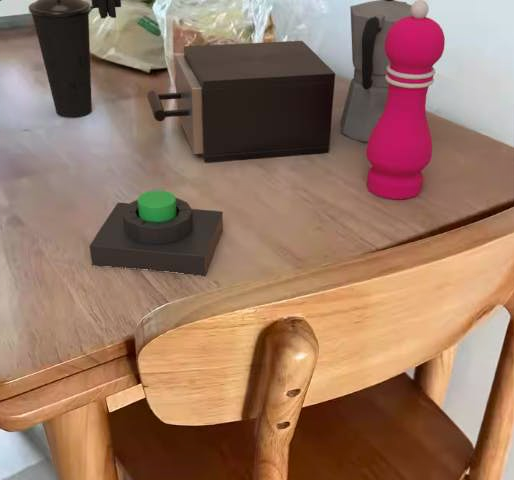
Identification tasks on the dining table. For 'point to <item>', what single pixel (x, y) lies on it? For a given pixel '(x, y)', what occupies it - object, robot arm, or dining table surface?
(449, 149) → the dining table surface
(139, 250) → the control block
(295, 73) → the cabinet
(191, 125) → the drawer
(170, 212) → the button
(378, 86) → the coffeepot
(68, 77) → the drinking cup
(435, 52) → the pepper mill
